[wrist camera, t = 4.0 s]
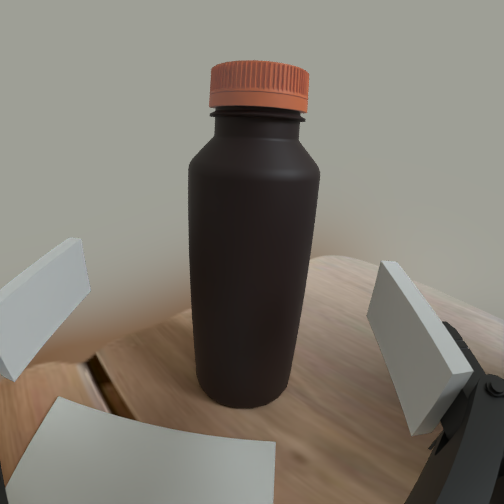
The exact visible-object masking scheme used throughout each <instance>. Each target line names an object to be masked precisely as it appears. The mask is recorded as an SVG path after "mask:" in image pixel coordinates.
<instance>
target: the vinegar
mask: <svg viewBox="0 0 504 504" xmlns="http://www.w3.org/2000/svg"><path fill="white" fill-rule="evenodd" d="M308 87H309V74H308V73H307V72H306V71H305V70H303V69H301V68H299V67H296V66H292V65H288V64H283V63H277V62H269V61H254V60H253V61H232V62H225V63H221V64H218V65H216V66H214V67H213V68H212V70H211V85H210V101H209V107H210V108H216V111H215V112H213V113H210V116H211V117H215V134H214V137H213V138H212V139H211V140H210V141H209V142H208V143H207V144H206V145H205V146H204V147H203V148H202V149H201V150H200V151H199V153H198V154H197V155H196V156H195V157H194V158H193V159H192V161H191V162H190V164H189V169H188V171H189V172H188V220H189V259H190V285H191V305H192V321H193V336H194V349H195V361H196V372H197V377H198V380H199V384H200V386H201V388H202V389H203V390H204V391H205V392H206V394H207V395H208V396H209V397H211V398H212V399H214V400H216V401H217V402H219V403H221V404H223V405H227V406H231V407H234V408H254V407H258V406H262V405H266V404H268V403H270V402H271V401H273V400H275V399H276V398H278V397H279V396H280V394H281V393H282V392H283V391H284V390H285V388H286V387H287V384H288V380H289V376H290V371H291V366H292V361H293V356H294V350H295V345H296V340H297V334H298V329H299V323H300V317H301V311H302V305H303V299H304V293H305V287H306V280H307V274H308V267H309V260H310V253H311V246H312V239H313V231H314V223H315V215H316V207H317V199H318V190H319V181H320V171H319V168H318V166H317V164H316V163H315V162H314V160H313V159H312V158H311V156H310V155H309V154H308V152H307V151H306V150H305V148H304V147H303V146H302V144H301V143H300V142H299V125H300V122H305V119H304V118H302V117H301V116H300V113H307V105H308V101H307V100H308Z"/></svg>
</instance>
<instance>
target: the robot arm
mask: <svg viewBox="0 0 504 504" xmlns="http://www.w3.org/2000/svg"><path fill="white" fill-rule="evenodd" d="M90 292H91V288H90V283H89V278H88V273H87V268H86V263H85V257H84V252H83V245H82V239H80V238H68V239H67V240H65V241H64V242H62V243H61V244H59V245H58V246H57V247H55V248H54V249H52V250H51V251H49V252H48V253H47V254H46V255H44V256H43V257H41V258H40V259H39V260H37V261H36V262H35V263H33V264H32V265H30V266H29V267H28V268H27V269H25V270H24V271H23V272H21V273H20V274H19V275H17V276H16V277H15V278H14V279H12V280H11V281H10V282H9V283H7V284H6V285H5V286H4V287H3V288H1V289H0V373H1V375H2V376H3V377H5V378H7V379H9V380H11V381H13V382H15V381H16V379H17V378H18V377H19V375H20V374H21V373H22V372H23V370H24V369H25V368H26V366H27V365H28V364H29V363H30V361H31V360H32V359H33V358H34V356H35V355H36V354H37V353H38V351H39V350H40V349H41V348H42V346H43V345H44V344H45V343H46V342H47V340H48V339H49V338H50V337H51V336H52V334H53V333H54V332H55V331H56V330H57V329H58V327H59V326H60V325H61V324H62V323H63V322H64V321H65V319H66V318H67V317H68V316H69V315H70V314H71V313H72V311H73V310H74V309H75V308H76V307H77V306H78V305H79V304H80V302H81V301H82V300H83V299H84V298H85V297H86V296H87V295H88V294H89V293H90ZM366 316H367V318H368V320H369V323H370V325H371V328H372V330H373V332H374V335H375V337H376V340H377V342H378V345H379V347H380V350H381V352H382V355H383V357H384V360H385V363H386V365H387V368H388V370H389V373H390V376H391V379H392V381H393V384H394V387H395V389H396V392H397V395H398V398H399V401H400V404H401V406H402V409H403V412H404V415H405V418H406V421H407V424H408V427H409V430H410V433H411V436H416V435H422V434H427V433H432V431H433V430H434V429H435V427H436V426H437V425H438V423H439V422H440V421H441V424H442V426H443V429H444V430H443V431H442V432H441V434H440V435H439V436H438V437H437V438H436V440H435V441H434V442H433V443H432V444H431V446H430V447H429V448H428V449H429V450H431V449H432V448H433V447H434V448H433V450H432V453H431V455H430V457H429V459H428V461H427V463H426V465H425V467H424V469H423V471H422V473H421V475H420V477H419V479H418V481H417V482H416V484H415V486H414V488H413V490H412V491H411V493H410V495H409V497H408V498H407V500H406V502H405V503H404V504H504V380H503V379H502V378H500V377H498V376H496V375H492V374H488V375H486V374H485V372H484V371H483V369H482V367H481V366H480V364H479V363H478V361H477V360H476V358H475V357H474V355H473V353H472V352H471V350H470V349H468V346H467V345H466V343H465V342H464V341H463V339H462V337H461V336H460V334H459V333H458V332H457V330H456V329H455V328H453V327H452V326H451V325H450V324H449V323H447V322H441V320H440V319H439V317H438V316H437V314H436V313H435V312H434V310H433V309H432V307H431V306H430V305H429V303H428V302H427V301H426V299H425V298H424V296H423V295H422V294H421V292H420V291H419V290H418V288H417V287H416V286H415V284H414V283H413V282H412V281H411V279H410V278H409V277H408V275H407V274H406V273H405V272H404V270H403V269H402V268H401V267H400V265H399V264H398V263H397V262H393V261H381V263H380V267H379V271H378V275H377V279H376V283H375V287H374V290H373V294H372V298H371V301H370V305H369V308H368V312H367V315H366ZM0 504H9V503H8V499H7V494H6V490H5V485H4V480H3V475H2V469H1V463H0Z"/></svg>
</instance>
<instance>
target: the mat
mask: <svg viewBox="0 0 504 504" xmlns="http://www.w3.org/2000/svg"><path fill="white" fill-rule="evenodd" d="M275 447H276V442H271V441H256V440H245V439H235V438H226V437H218V436H210V435H204V434H197V433H191V432H185V431H180V430H175V429H170V428H165V427H160V426H156V425H151V424H147V423H143V422H139V421H135V420H131V419H127V418H123V417H120V416H116V415H113V414H109V413H106V412H103V411H100V410H96V409H93V408H90V407H87V406H84V405H81V404H78V403H76V402H73V401H70V400H67V399H65V398H62V397H60V396H58V398H57V399H56V401H55V403H54V404H53V406H52V407H51V409H50V411H49V412H48V414H47V415H46V417H45V419H44V420H43V422H42V424H41V425H40V427H39V429H38V430H37V432H36V434H35V435H34V437H33V439H32V440H31V442H30V444H29V446H28V447H27V449H26V451H25V453H24V454H23V456H22V458H21V460H20V462H19V463H18V465H17V467H16V469H15V471H14V473H13V475H12V476H11V478H10V480H9V482H8V484H7V486H6V488H5V490H6V494H7V499H8V503H9V504H273V495H274V473H275Z"/></svg>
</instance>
